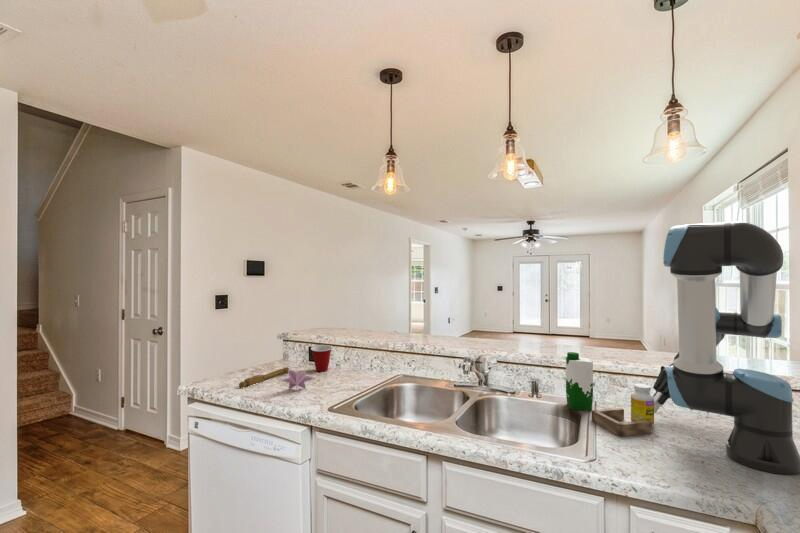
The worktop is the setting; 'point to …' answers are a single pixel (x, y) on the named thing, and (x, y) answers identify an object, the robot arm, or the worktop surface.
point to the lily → (297, 379)
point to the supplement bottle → (642, 404)
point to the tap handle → (262, 377)
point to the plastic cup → (321, 357)
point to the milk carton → (579, 382)
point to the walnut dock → (622, 429)
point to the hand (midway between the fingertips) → (650, 409)
